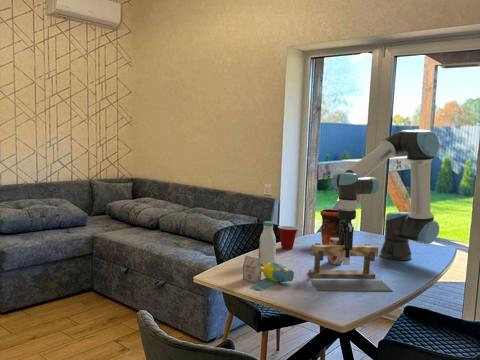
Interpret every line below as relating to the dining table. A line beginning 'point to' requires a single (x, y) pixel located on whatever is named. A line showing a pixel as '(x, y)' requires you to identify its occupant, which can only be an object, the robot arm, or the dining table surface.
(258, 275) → the white printed box
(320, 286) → the mat
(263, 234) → the milk bottle
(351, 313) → the dining table surface
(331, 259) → the soda can
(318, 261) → the hook rack
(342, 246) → the batten
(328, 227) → the vessel
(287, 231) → the plastic cup
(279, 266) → the teal and yellow shape
